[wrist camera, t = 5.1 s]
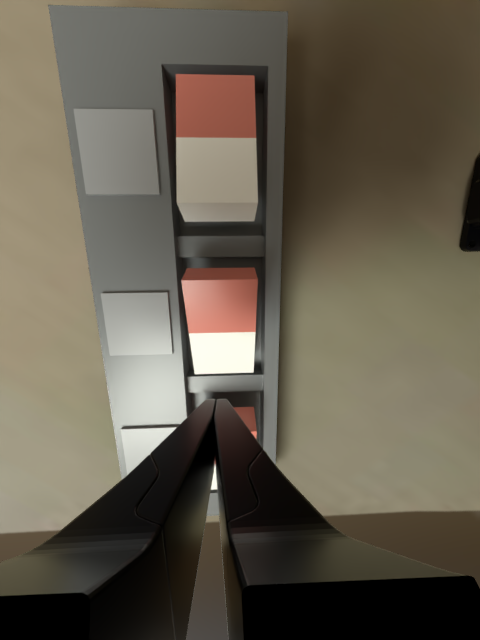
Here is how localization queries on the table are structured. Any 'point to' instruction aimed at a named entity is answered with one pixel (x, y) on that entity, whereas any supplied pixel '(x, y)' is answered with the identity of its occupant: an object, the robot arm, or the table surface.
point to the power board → (168, 206)
